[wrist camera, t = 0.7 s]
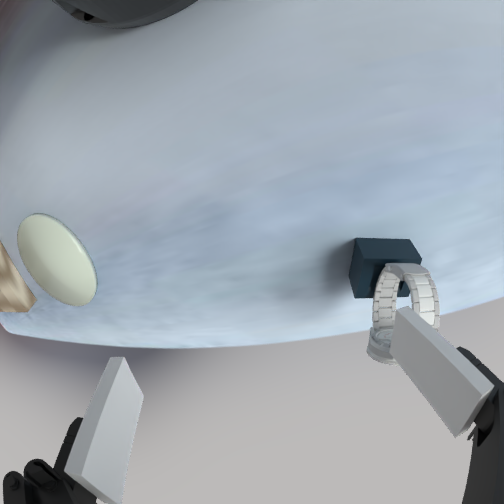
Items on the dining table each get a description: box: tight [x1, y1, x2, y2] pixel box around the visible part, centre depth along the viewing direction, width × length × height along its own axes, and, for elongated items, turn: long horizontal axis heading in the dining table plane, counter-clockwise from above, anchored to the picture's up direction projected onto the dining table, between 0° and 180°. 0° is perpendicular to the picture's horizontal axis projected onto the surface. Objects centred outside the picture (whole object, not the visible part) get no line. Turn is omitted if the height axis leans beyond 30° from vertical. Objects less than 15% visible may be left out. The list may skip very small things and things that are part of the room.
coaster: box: [17, 213, 98, 306], centre depth 28 cm, size 14×14×1 cm
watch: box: [349, 238, 440, 366], centre depth 20 cm, size 6×8×11 cm
